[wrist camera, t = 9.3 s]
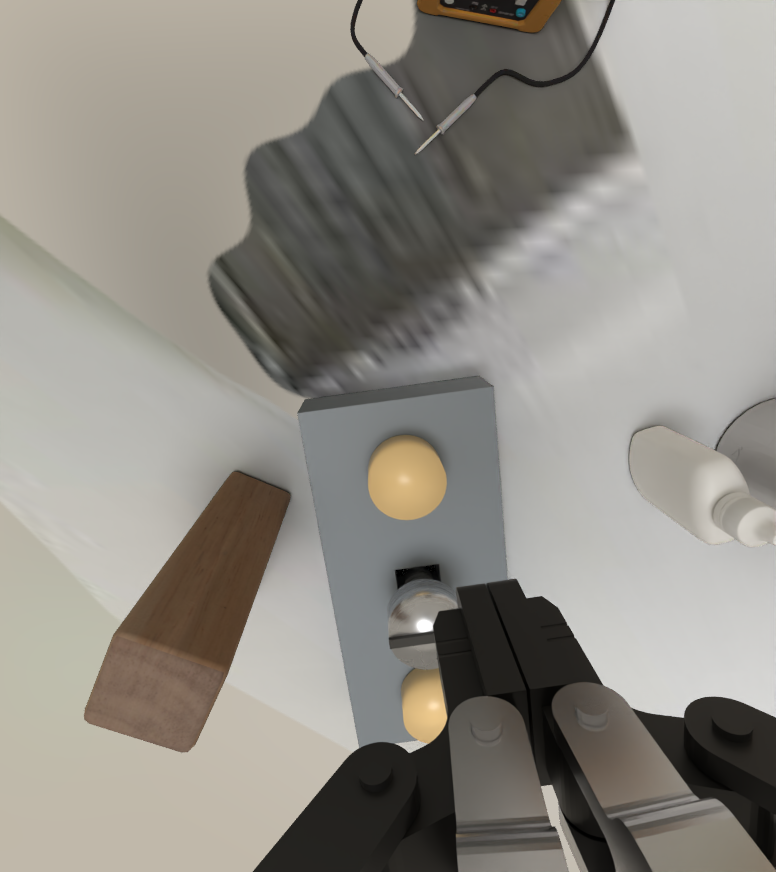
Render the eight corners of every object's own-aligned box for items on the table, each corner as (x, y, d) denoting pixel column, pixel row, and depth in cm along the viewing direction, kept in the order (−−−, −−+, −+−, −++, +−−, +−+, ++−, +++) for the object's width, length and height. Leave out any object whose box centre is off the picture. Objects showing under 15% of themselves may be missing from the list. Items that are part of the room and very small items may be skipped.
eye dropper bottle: (693, 431, 37) (843, 496, 25) (665, 502, 38) (795, 595, 27) (636, 419, 36) (762, 480, 25) (610, 491, 38) (718, 581, 26)
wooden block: (247, 592, 39) (153, 838, 21) (190, 571, 38) (45, 807, 21) (293, 492, 37) (228, 673, 19) (233, 467, 36) (111, 633, 19)
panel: (479, 375, 35) (493, 386, 31) (504, 686, 42) (518, 726, 38) (304, 399, 35) (297, 413, 31) (360, 706, 42) (359, 748, 38)
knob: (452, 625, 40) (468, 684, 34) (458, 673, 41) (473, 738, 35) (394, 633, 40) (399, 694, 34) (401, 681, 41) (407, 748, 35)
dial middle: (447, 544, 35) (465, 599, 29) (453, 602, 36) (472, 666, 30) (380, 553, 35) (384, 610, 29) (389, 611, 36) (394, 677, 30)
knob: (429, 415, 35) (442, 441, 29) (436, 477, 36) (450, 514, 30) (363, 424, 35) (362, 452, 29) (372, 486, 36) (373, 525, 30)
